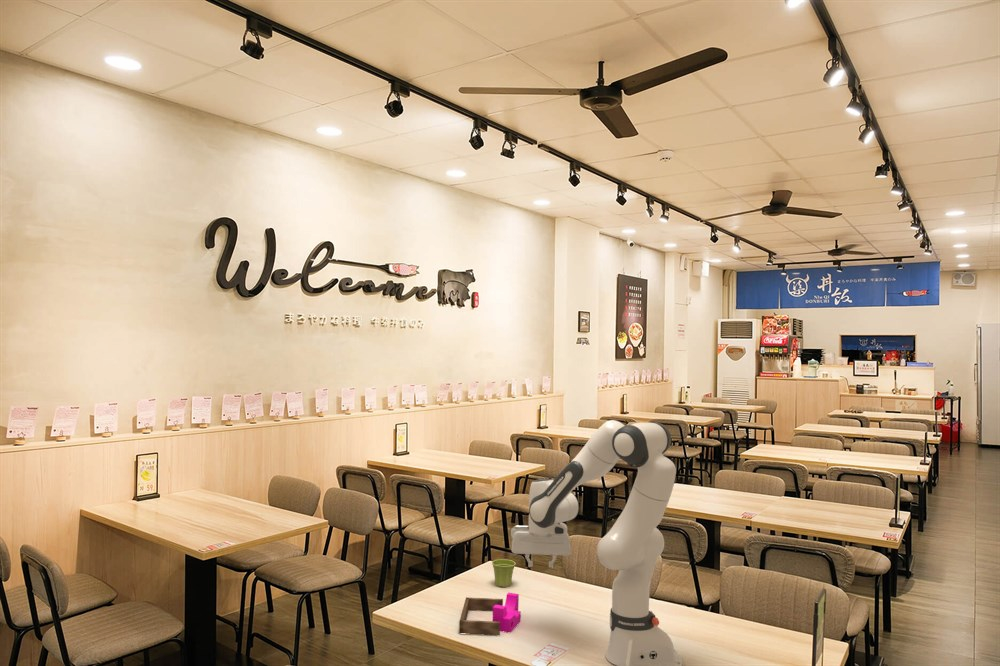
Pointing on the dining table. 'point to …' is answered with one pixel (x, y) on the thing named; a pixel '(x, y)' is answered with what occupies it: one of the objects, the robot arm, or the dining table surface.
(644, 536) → the robot arm
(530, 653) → the dining table surface
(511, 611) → the toy block
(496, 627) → the walnut bay
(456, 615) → the dining table surface
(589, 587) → the dining table surface
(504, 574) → the plant pot
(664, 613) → the dining table surface
